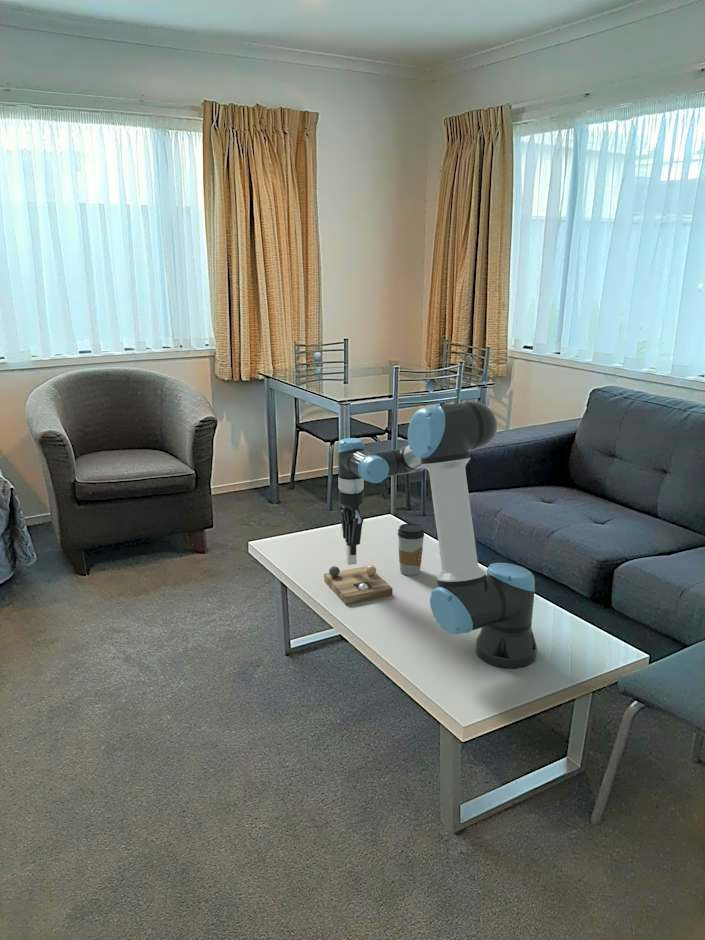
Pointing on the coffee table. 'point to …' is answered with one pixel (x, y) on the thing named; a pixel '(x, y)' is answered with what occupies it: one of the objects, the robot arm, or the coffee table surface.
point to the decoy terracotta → (370, 570)
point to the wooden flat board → (349, 582)
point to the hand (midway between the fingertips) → (351, 563)
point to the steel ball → (363, 586)
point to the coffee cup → (410, 548)
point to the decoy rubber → (334, 571)
